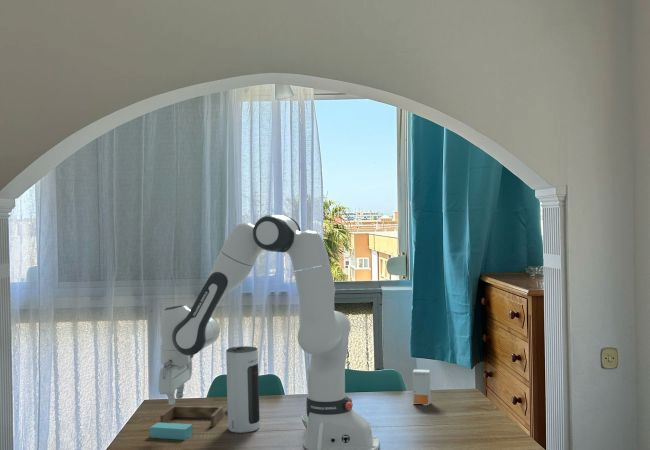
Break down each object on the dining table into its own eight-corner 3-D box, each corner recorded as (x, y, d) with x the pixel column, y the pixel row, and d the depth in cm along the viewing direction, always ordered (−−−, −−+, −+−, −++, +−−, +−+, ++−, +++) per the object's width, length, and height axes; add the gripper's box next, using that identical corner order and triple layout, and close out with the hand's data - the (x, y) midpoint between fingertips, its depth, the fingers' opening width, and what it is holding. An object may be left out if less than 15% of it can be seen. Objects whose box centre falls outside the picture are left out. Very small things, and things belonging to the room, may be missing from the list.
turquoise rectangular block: (192, 435, 204) (192, 424, 204) (185, 440, 199) (185, 429, 199) (158, 433, 206) (158, 422, 206) (150, 438, 202) (150, 427, 202)
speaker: (242, 435, 201) (240, 352, 201) (220, 429, 208) (218, 348, 208) (266, 427, 209) (264, 346, 209) (244, 421, 216) (243, 343, 216)
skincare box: (412, 405, 231) (411, 371, 231) (414, 401, 236) (413, 368, 236) (429, 406, 230) (428, 372, 230) (431, 402, 234) (430, 369, 234)
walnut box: (223, 416, 221) (222, 406, 221) (213, 427, 211) (213, 416, 210) (172, 416, 224) (172, 405, 224) (160, 426, 213) (160, 415, 213)
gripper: (173, 364, 191) (173, 411, 191) (195, 350, 212) (195, 392, 212) (152, 364, 192) (153, 410, 192) (176, 350, 213) (177, 392, 213)
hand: (175, 401), depth 202 cm, fingers open, 5 cm apart
